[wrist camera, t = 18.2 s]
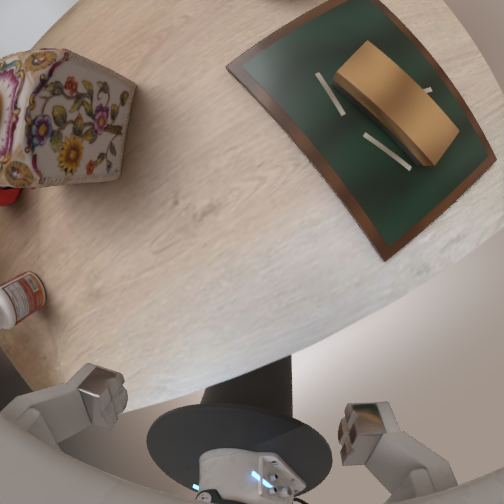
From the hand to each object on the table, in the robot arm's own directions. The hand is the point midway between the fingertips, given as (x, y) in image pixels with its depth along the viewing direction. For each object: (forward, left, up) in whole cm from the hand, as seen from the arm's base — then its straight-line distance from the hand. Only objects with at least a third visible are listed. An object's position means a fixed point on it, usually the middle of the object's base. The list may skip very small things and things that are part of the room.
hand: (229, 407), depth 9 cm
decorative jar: (+24, +7, -23) cm, 34 cm away
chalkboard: (+4, -19, -22) cm, 30 cm away
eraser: (+4, -19, -21) cm, 29 cm away
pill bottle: (+17, +32, -23) cm, 43 cm away
